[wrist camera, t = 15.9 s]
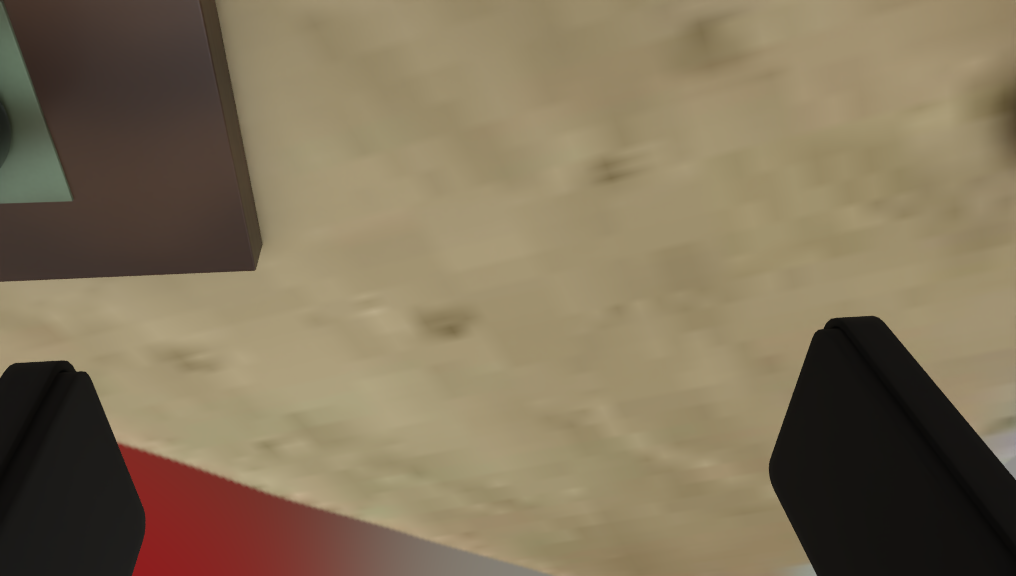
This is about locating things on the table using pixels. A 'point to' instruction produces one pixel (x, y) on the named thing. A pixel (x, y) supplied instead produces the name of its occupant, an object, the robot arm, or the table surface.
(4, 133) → the supplement bottle
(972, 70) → the table surface
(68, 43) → the walnut board
